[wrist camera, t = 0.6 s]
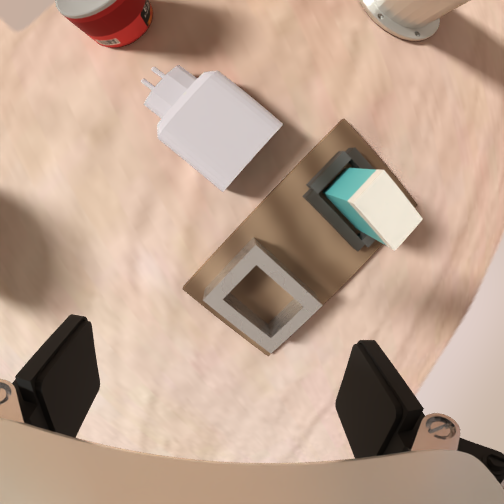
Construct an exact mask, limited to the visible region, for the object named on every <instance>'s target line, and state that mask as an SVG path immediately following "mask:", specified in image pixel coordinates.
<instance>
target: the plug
mask: <svg viewBox="0 0 504 504" xmlns="http://www.w3.org/2000/svg"><path fill="white" fill-rule="evenodd" d="M322 193H323V194H324V195H325V196H326V197H327V198H328V199H329V200H330V201H331V202H332V203H333V204H334V205H335V206H336V207H337V209H338V210H339V211H340V212H341V213H342V214H343V215H344V216H345V217H346V218H347V219H348V220H349V221H350V222H351V224H352V225H353V226H354V227H355V228H356V229H358V230H360V231H361V232H363V233H365V234H367V235H368V236H370V237H372V238H374V239H376V240H377V241H379V242H381V243H382V244H384V245H386V246H387V247H389V248H391V249H392V250H394V251H395V250H396V249H397V248H398V247H399V246H400V245H401V244H402V243H403V241H404V240H405V239H406V238H407V237H408V236H409V235H410V234H411V232H412V231H413V230H414V229H415V228H416V227H417V225H418V224H419V223H420V222H421V221H422V220H423V219H422V217H421V216H420V215H419V213H418V212H417V211H416V209H415V208H414V207H413V205H412V204H411V203H410V201H409V200H408V199H407V198H406V196H405V195H404V194H403V192H402V191H401V190H400V189H399V187H398V186H397V185H396V184H395V182H394V181H393V180H392V179H391V178H390V176H389V175H388V174H387V173H386V172H385V170H379V169H377V170H375V169H360V168H345V169H344V170H343V171H342V172H341V173H340V174H339V175H338V176H337V177H336V178H335V179H334V180H333V181H332V182H331V183H330V184H329V186H328V187H327V188H326V189H325V190H324V191H323V192H322Z"/></svg>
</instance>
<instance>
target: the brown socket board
mask: <svg viewBox="0 0 504 504" xmlns="http://www.w3.org/2000/svg"><path fill="white" fill-rule="evenodd" d="M345 168H360V169H375V170H377V169H379V170H385V172H386V173H387V174H388V175H389V176H390V178H391V179H392V180H393V181H394V182H395V184H396V185H397V186H398V187H399V189H400V190H401V191H402V192H403V194H404V195H405V196H406V198H407V199H408V200H409V201H410V203H411V204H412V205H413V207H414V208H415V207H416V206H417V204H416V202H415V201H414V200H413V198H412V197H411V196H410V195H409V193H408V192H407V191H406V189H405V188H404V187H403V186H402V184H401V183H400V182H399V181H398V179H397V178H396V177H395V176H394V174H393V173H392V172H391V171H390V169H389V168H388V167H387V166H386V165H385V164H384V162H383V161H382V160H381V159H380V158H379V156H378V155H377V154H376V153H375V152H374V151H373V150H372V148H371V147H370V146H369V145H368V144H367V143H366V142H365V141H364V139H363V138H362V137H361V136H360V135H359V134H358V133H357V132H356V131H355V130H354V128H353V127H352V126H351V125H350V124H349V123H348V122H347V121H346V120H345V119H342V120H341V121H340V122H339V123H338V124H337V125H336V126H335V127H334V128H333V129H332V130H331V131H330V132H329V133H328V134H327V135H326V136H325V137H324V138H323V139H322V140H321V141H320V142H319V143H318V144H317V145H316V146H315V147H314V148H313V149H312V150H311V151H310V152H309V153H308V154H307V155H306V156H305V157H304V158H303V159H302V160H301V161H300V162H299V164H298V165H297V166H296V167H295V168H294V169H293V170H292V171H291V172H290V173H289V174H288V175H287V176H286V177H285V178H284V179H283V180H282V181H281V182H280V183H279V184H278V185H277V186H276V187H275V188H274V190H273V191H272V192H271V193H270V194H269V195H268V196H267V197H266V198H265V199H264V200H263V201H262V202H261V203H260V204H259V205H258V206H257V207H256V208H255V210H254V211H253V212H252V213H251V214H250V215H249V216H248V217H247V218H246V219H245V220H244V221H243V222H242V223H241V224H240V225H239V227H238V228H237V229H236V230H235V231H234V232H233V233H232V234H231V235H230V236H229V237H228V238H227V239H226V240H225V242H224V243H223V244H222V245H221V246H220V247H219V248H218V249H217V250H216V251H215V252H214V253H213V254H212V256H211V257H210V258H209V259H208V260H207V261H206V262H205V263H204V264H203V265H202V266H201V268H200V269H199V270H198V271H197V272H196V273H195V274H194V275H193V276H192V277H191V278H190V280H189V281H188V282H187V283H186V284H185V285H184V286H183V290H184V291H185V292H187V293H188V294H189V295H190V296H192V297H193V298H194V299H195V300H196V301H198V302H199V303H200V304H201V305H203V306H204V307H205V308H206V309H208V310H209V311H210V312H211V313H213V314H214V315H215V316H216V317H218V318H219V319H220V320H221V321H223V322H224V323H225V324H226V325H228V326H229V327H230V328H232V329H233V330H234V331H235V332H237V333H238V334H239V335H241V336H242V337H243V338H244V339H246V340H247V341H248V342H250V343H251V344H252V345H254V346H255V347H256V348H258V349H259V350H260V351H262V352H263V353H264V354H266V355H267V356H269V355H270V354H271V353H269V352H268V351H267V350H265V349H264V348H263V347H261V346H260V345H259V344H257V343H256V342H255V341H254V340H252V339H251V338H250V337H248V336H247V335H246V334H244V333H243V332H242V331H241V330H239V329H238V328H237V327H235V326H234V325H233V324H232V323H230V322H229V321H228V320H227V319H225V318H224V317H223V316H222V315H220V314H219V313H218V312H217V311H215V310H214V309H213V308H212V307H210V306H209V305H208V304H207V303H205V302H204V301H203V296H204V291H205V288H206V287H207V286H208V285H209V284H210V283H211V282H212V280H213V279H214V278H215V277H216V276H217V275H218V274H219V273H220V272H221V271H222V270H223V269H224V268H225V267H226V266H227V265H228V264H229V262H230V261H231V260H232V259H233V258H234V257H235V256H236V255H237V254H238V253H239V252H240V251H241V250H242V249H243V248H244V247H245V246H246V245H247V243H248V242H249V241H250V240H251V239H252V238H253V237H254V238H255V239H256V240H257V241H258V242H259V243H261V244H262V245H263V246H264V247H265V248H266V249H267V250H268V251H269V252H270V253H272V254H273V255H274V256H275V257H276V258H277V259H278V260H279V261H280V262H281V263H283V264H284V265H285V266H286V267H287V268H288V269H289V270H290V271H291V272H292V273H294V274H295V275H296V276H297V277H298V278H299V279H300V280H301V281H302V282H303V283H304V284H306V285H307V286H308V287H309V288H310V289H311V290H312V291H313V292H314V293H315V294H316V295H317V297H318V299H319V300H320V302H321V304H322V305H324V304H325V303H326V302H327V301H328V300H329V299H330V298H331V297H332V296H333V295H334V294H335V293H336V292H337V291H338V290H339V289H340V288H341V287H342V286H343V285H344V284H345V283H346V282H347V281H348V280H349V279H350V278H351V277H352V276H353V275H354V274H355V273H356V272H357V270H358V269H359V268H360V267H361V266H362V265H363V264H364V263H365V262H366V261H367V260H368V259H369V258H370V257H371V256H372V255H373V254H374V253H375V252H376V250H377V249H378V248H379V247H380V246H381V245H382V243H381V242H379V241H377V240H376V239H374V238H372V237H370V236H368V235H367V234H365V233H363V232H361V231H360V230H358V229H356V228H355V227H354V226H353V225H352V224H351V222H350V221H349V220H348V219H347V218H346V217H345V216H344V215H343V214H342V213H341V212H340V211H339V210H338V209H337V207H336V206H335V205H334V204H333V203H332V202H331V201H330V200H329V199H328V198H327V197H326V196H325V195H324V194H323V193H322V192H323V191H324V190H325V189H326V188H327V187H328V186H329V184H330V183H331V182H332V181H333V180H334V179H335V178H336V177H337V176H338V175H339V174H340V173H341V172H342V171H343V170H344V169H345ZM229 293H231V294H232V295H233V296H234V297H235V298H237V299H238V300H239V301H240V302H241V303H243V304H244V305H245V306H246V307H247V308H249V309H250V310H251V311H252V312H254V313H255V314H256V315H257V316H259V317H260V318H261V319H262V320H263V321H265V322H266V323H267V324H268V323H269V322H270V321H271V320H272V319H274V318H275V317H276V316H277V315H278V314H279V313H280V312H281V311H282V310H283V309H284V308H285V307H286V306H287V305H288V304H289V303H290V302H291V301H292V300H293V299H294V298H293V297H292V296H291V295H290V294H289V293H288V292H287V291H285V290H284V289H283V288H282V287H281V286H280V285H279V284H277V283H276V282H275V281H274V280H273V279H272V278H271V277H269V276H268V275H267V274H266V273H265V272H264V271H263V270H262V269H260V268H259V267H258V266H257V265H256V266H255V267H254V268H253V269H252V270H251V271H250V272H249V273H248V274H247V275H246V276H245V277H244V278H243V279H242V280H241V281H240V282H239V283H238V284H237V285H236V286H235V287H234V288H233V289H232V290H231V291H230V292H229ZM319 309H320V308H319ZM319 309H318V310H319ZM284 342H285V341H284Z"/></svg>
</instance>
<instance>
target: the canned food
mask: <svg viewBox="0 0 504 504" xmlns="http://www.w3.org/2000/svg"><path fill="white" fill-rule="evenodd" d="M55 3H56V7H57V9H58V10H59V11H60V13H61V14H62V15H64V16H65V17H66V18H67V19H68V20H69V21H71V22H72V23H73V24H75V25H76V26H77V27H78V28H80V29H81V30H82V31H83V32H85V33H86V34H87V35H88V36H90V37H91V38H92V39H93V40H94V41H96V42H97V43H98V44H100V45H102V46H106V47H122V46H125V45H128V44H130V43H132V42H134V41H136V40H137V39H139V38H140V37H141V36H142V35H143V34H144V33H145V32H146V31H147V29H148V27H149V26H150V23H151V21H152V15H153V11H152V6H151V4H150V2H149V0H55Z"/></svg>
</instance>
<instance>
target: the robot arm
mask: <svg viewBox="0 0 504 504" xmlns="http://www.w3.org/2000/svg"><path fill="white" fill-rule="evenodd" d="M359 1H360V3H361V5H362V7H363V8H364V10H365V11H366V13H367V14H368V15H369V16H370V18H371V19H372V20H373V21H374V22H375V23H376V24H378V25H379V26H380V27H381V28H383V29H384V30H386V31H387V32H389V33H390V34H392V35H394V36H397V37H399V38H402V39H405V40H410V41H421V40H424V39H427V38H429V37H431V36H432V35H433V34H434V33H435V32H436V31H437V29H438V28H439V24H440V17H442V16H443V15H445V14H447V13H449V12H450V11H452V10H454V9H456V8H457V7H459V6H461V5H463V4H465V3H467V2H468V1H470V0H359ZM15 378H16V380H15V381H14V382H13V383H11V382H9V381H7V380H3V379H0V504H504V454H502V453H501V452H498V451H496V450H493V449H490V448H487V447H484V446H482V445H479V444H475V443H473V442H470V441H467V440H465V439H462V438H460V428H459V425H458V424H457V423H456V421H455V420H453V419H452V418H451V417H449V416H446V415H444V414H439V413H433V414H429V415H427V416H425V415H424V414H423V412H422V411H423V409H424V408H423V407H422V406H421V404H420V403H419V401H418V400H417V398H416V397H415V395H414V394H413V393H412V391H411V390H410V388H409V387H408V385H407V384H406V383H405V381H404V380H403V378H402V377H401V376H400V374H399V373H398V371H397V370H396V369H395V367H394V366H393V364H392V363H391V362H390V360H389V359H388V357H387V356H386V355H385V353H384V352H383V351H382V349H381V348H380V346H379V345H378V344H377V342H376V341H375V340H360V341H359V342H358V343H357V344H354V345H353V347H352V351H351V354H350V358H349V361H348V364H347V368H346V371H345V374H344V377H343V380H342V383H341V387H340V390H339V393H338V396H337V399H336V410H337V413H338V415H339V418H340V420H341V423H342V426H343V428H344V431H345V433H346V436H347V439H348V441H349V444H350V446H351V449H352V452H353V454H354V457H355V459H345V460H334V461H322V462H305V463H235V462H217V461H204V460H194V459H184V458H176V457H169V456H161V455H155V454H148V453H142V452H137V451H131V450H126V449H121V448H116V447H111V446H107V445H103V444H98V443H94V442H90V441H86V440H82V439H78V438H75V437H76V435H77V433H78V431H79V429H80V427H81V425H82V423H83V421H84V419H85V417H86V415H87V413H88V411H89V409H90V407H91V405H92V403H93V401H94V399H95V397H96V395H97V393H98V391H99V388H100V379H99V373H98V367H97V360H96V354H95V347H94V339H93V331H92V324H91V322H89V321H88V320H87V318H86V317H84V316H78V315H72V314H71V315H70V316H69V317H68V318H67V319H66V320H65V321H64V322H63V323H62V324H61V325H60V326H59V327H58V329H57V330H56V331H55V332H54V333H53V334H52V335H51V336H50V337H49V338H48V339H47V341H46V342H45V343H44V344H43V345H42V346H41V347H40V348H39V350H38V351H37V352H36V353H35V354H34V355H33V356H32V358H31V359H30V360H29V361H28V362H27V363H26V364H25V366H24V367H23V368H22V369H21V370H20V371H19V373H18V374H17V375H16V376H15Z"/></svg>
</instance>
